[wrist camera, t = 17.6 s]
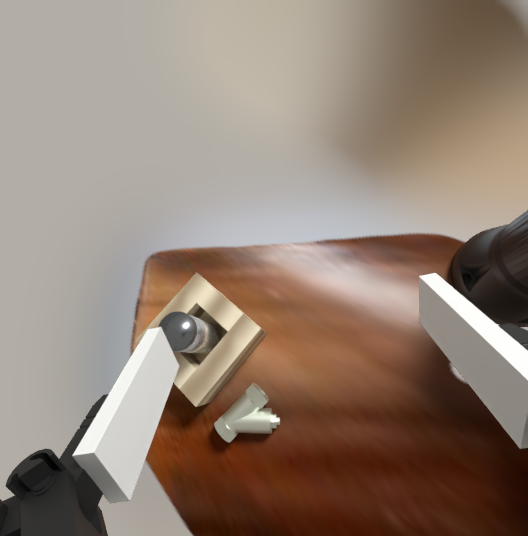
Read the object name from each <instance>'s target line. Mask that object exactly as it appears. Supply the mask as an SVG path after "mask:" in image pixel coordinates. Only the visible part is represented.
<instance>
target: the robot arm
mask: <svg viewBox="0 0 528 536" xmlns="http://www.w3.org/2000/svg"><path fill="white" fill-rule="evenodd" d="M451 272H452V280H453V284H454V287H455V289H456V290H455V289H454V288H453V287H452V286H450V285H449V284H448V283H447V282H446V281H445V280H443V279H442V278H441V277H440V276H439V275H437V274H436V273H433V274H428V275H423V276H419V312H420V324H421V325H422V326H423V328H424V329H425V330H426V331H427V333H428V334H429V335H430V336H431V338H432V339H433V340H434V341H435V343H436V344H437V345H438V346H439V348H440V349H441V350H442V351H443V353H444V354H445V355H446V356H447V358H448V359H449V360H450V361H451V363H452V364H453V365H454V367H455V368H456V369H457V370H458V372H459V373H460V374H461V375H462V377H463V378H464V379H465V380H466V382H467V383H468V384H469V385H470V387H471V388H472V389H473V390H474V392H475V393H476V394H477V395H478V397H479V398H480V399H481V400H482V402H483V403H484V404H485V405H486V407H487V408H488V409H489V410H490V412H491V413H492V414H493V415H494V417H495V418H496V419H497V420H498V422H499V423H500V424H501V426H502V427H503V428H504V429H505V431H506V432H507V433H508V434H509V436H510V437H511V438H512V439H513V441H514V442H515V443H516V444H517V446H518V447H519V448H520V449H523V448H528V331H527V330H525V329H522V328H520V327H528V210H527V211H526V212H524V213H523V214H522V215H520V216H519V217H518V218H516V219H515V220H514V221H512V222H511V223H510V224H508V225H503V226H499V227H496V228H491V229H488V230H485V231H482V232H480V233H478V234H476V235H475V236H473V237H472V238H470V239H469V240H468V241H467V242H466V243H464V244H463V245H462V246H461V247H460V249H459V250H458V251H457V253H456V255H455V257H454V259H453V263H452V270H451ZM497 324H499V325H497ZM178 368H179V364H178V362H177V360H176V358H175V356H174V354H173V351H172V349H171V347H170V345H169V343H168V341H167V339H166V336H165V334H164V332H163V330H162V328H161V327H158V328H152V329H147V331H146V333H145V334H144V336H143V338H142V339H141V341H140V343H139V344H138V346H137V348H136V349H135V351H134V353H133V355H132V356H131V358H130V360H129V361H128V363H127V365H126V366H125V368H124V370H123V371H122V373H121V375H120V376H119V378H118V380H117V382H116V383H115V385H114V386H113V388H112V390H111V391H110V393H109V394H107V395H103V396H102V397H101V398H100V399H99V400H98V401H97V402H96V403H95V404H94V405H93V406H92V408H91V410H90V411H89V413H88V415H87V416H86V419H85V420H84V421H83V422H82V424H81V425H80V429H78V430H77V432H76V433H75V435H74V437H73V438H72V440H71V441H70V443H69V445H68V446H67V448H66V449H65V451H64V453H63V454H62V456H61V457H60V459H58V457H57V456H56V455H55V454H54V452H53V451H52V450H50V449H43V450H39V451H37V452H35V453H33V454H31V455H30V456H28V457H27V458H26V459H24V460H23V461H22V462H21V463H20V464H19V465H18V466H17V467H16V468H15V469H14V470H13V471H12V473H11V475H10V476H9V478H8V480H7V483H6V487H7V488H8V489H9V490H10V491H11V492H12V493H13V494H14V495H15V496H13V497H11V498H9V499H7V500H4V501H2V500H1V499H0V536H108V534H107V531H106V526H105V523H104V520H103V515H102V511H101V509H100V508H99V506H98V503H99V501H100V499H101V497H102V495H104V496H105V498H106V499H107V500H108V501H109V503H116V502H124V501H130V499H131V496H132V494H133V491H134V488H135V485H136V483H137V480H138V477H139V474H140V472H141V469H142V466H143V464H144V461H145V458H146V455H147V453H148V450H149V447H150V445H151V442H152V439H153V436H154V434H155V431H156V428H157V426H158V423H159V420H160V417H161V415H162V412H163V409H164V407H165V404H166V401H167V398H168V396H169V393H170V390H171V387H172V385H173V382H174V379H175V377H176V374H177V371H178Z"/></svg>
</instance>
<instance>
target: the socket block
mask: <svg viewBox="0 0 528 536" xmlns="http://www.w3.org/2000/svg"><path fill="white" fill-rule="evenodd" d="M176 311H180V312H184V313H186V314H189V315H191V316H194V317H196V318H199V319H201V320H204V321H206V322H209V323H211V324H214V325H216V326H217V327H218V328H219V329H220V331H221V334H222V339H221V341H220V342H219V343H218V344H217V345H216V346H215V348H214V349H213V350H212V351H211V352H210V354H197V353H187V352H176V351H173V354H174V356H175V358H176V360H177V362H178V364H179V368H178V371H177V374H176V377H175V379H174V382H173V383H174V384H175V385H176V386H177V387H178V388H179V389H180V390H181V391H182V393H183V394H184V395H185V396H186V397H187V398H188V399H189V400H190V401H191V402H192V404H193V405H194V406H195V407H198V406H201V405H204V404H208V403H210V402H211V401H212V400H213V399H214V398H215V396H216V395H217V394H218V393H219V391H220V390H221V389H222V388H223V387H224V385H225V384H226V383H227V382H228V381H229V379H230V378H231V377H232V376H233V374H234V373H235V372H236V371H237V370H238V368H239V367H240V366H241V365H242V363H243V362H244V361H245V360H246V359H247V357H248V356H249V355H250V354H251V353H252V351H253V350H254V349H255V348H256V346H257V345H258V344H259V343H260V342H261V340H262V339H263V338H264V337H265V336H266V334H267V333H266V332H265V331H264V330H263V329H262V328H261V327H259V326H258V325H257V324H256V323H255V322H254V321H253V320H251V319H250V318H249V317H248V316H247V315H246V314H244V313H243V312H242V311H241V310H240V309H239V308H238V307H236V306H235V305H234V304H233V303H232V302H231V301H229V300H228V299H227V298H226V297H225V296H224V295H223V294H221V293H220V292H219V291H218V290H217V289H216V288H214V287H213V286H212V285H211V284H210V283H209V282H207V281H206V280H205V279H204V278H203V277H201V276H200V275H199V274H198V273H196V274H195V275H194V276H193V277H192V278H191V279H190V280H189V282H188V283H187V284H186V285H185V286H184V287H183V288H182V289H181V290H180V292H179V293H178V294H177V295H176V296H175V297H174V298H173V299H172V300H171V302H170V303H169V304H168V305H167V306H166V307H165V308H164V309H163V310H162V312H161V313H160V314H159V315H158V316H157V317H156V318H155V319H154V320H153V322H152V323H151V324H150V325H149V326H148V327H147V328H146V329H145V330H144V332H143V333H142V334H141V335H140V336H139V337H138V338H137V339H136V340H135V341H136V342H137V343H138V344H139V343H140V341H141V339H142V338H143V336H144V334H145V333H146V331H147V329H152V328H158V326H159V324H160V322H161V320H162V319H163V318H164V317H165V316H166V315H167V314H169V313H171V312H176Z"/></svg>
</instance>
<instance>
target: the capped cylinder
mask: <svg viewBox="0 0 528 536" xmlns="http://www.w3.org/2000/svg"><path fill="white" fill-rule="evenodd" d="M158 327H161V328H162V330H163V332H164V334H165V336H166V339H167V341H168V343H169V345H170V347H171V349H172V351H176V352H187V353H197V354H210V352H211V351H212V350H213V349H214V348H215V346H216V345H217V344H218V343H219V342H220V341H221V339H222V334H221V331H220V329H219V328H218V327H217V326H216V325H214V324H211V323H209V322H206V321H204V320H201V319H199V318H196V317H194V316H191V315H189V314H186V313H184V312H180V311H176V312H171V313H169V314H167V315H166V316H165V317H164V318H163V319H162V320H161V322H160V324H159V326H158Z"/></svg>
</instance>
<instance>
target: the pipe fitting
mask: <svg viewBox="0 0 528 536" xmlns="http://www.w3.org/2000/svg"><path fill="white" fill-rule="evenodd" d="M268 401H269V398H268V396H267V395H266V394H265V392H264V391H263V390H262V389H261V388H260V387H259V386H258V385H257V384H255V383H252V384H251V385H250V386H249V387H248V389H247V390H246V391H245V392H244V394H243V395H242V396H241V397H240V398H239V399H238V400H237V401H236V402H235V403H234V404H233V405H232V406H231V407H230V408H229V409H228V411H227V412H226V413H225V414H223V415H222V416H221V417H220V418H219V419H218V420H217V421H216V422H215V423H214V425H215V428H216V431H217V432H218V434H219V435H220V436H221V437H222V438H223V439H224V440H225V441H227V442H229V443H230V442H231V441H232V440H233V439H234V438H235V437H236V436H237V434H238V433H266V434H271V433H272V428H276V427H277V425H280V417H277V414H272V408H263V406H264V405H265V404H266V403H267V402H268Z"/></svg>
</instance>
